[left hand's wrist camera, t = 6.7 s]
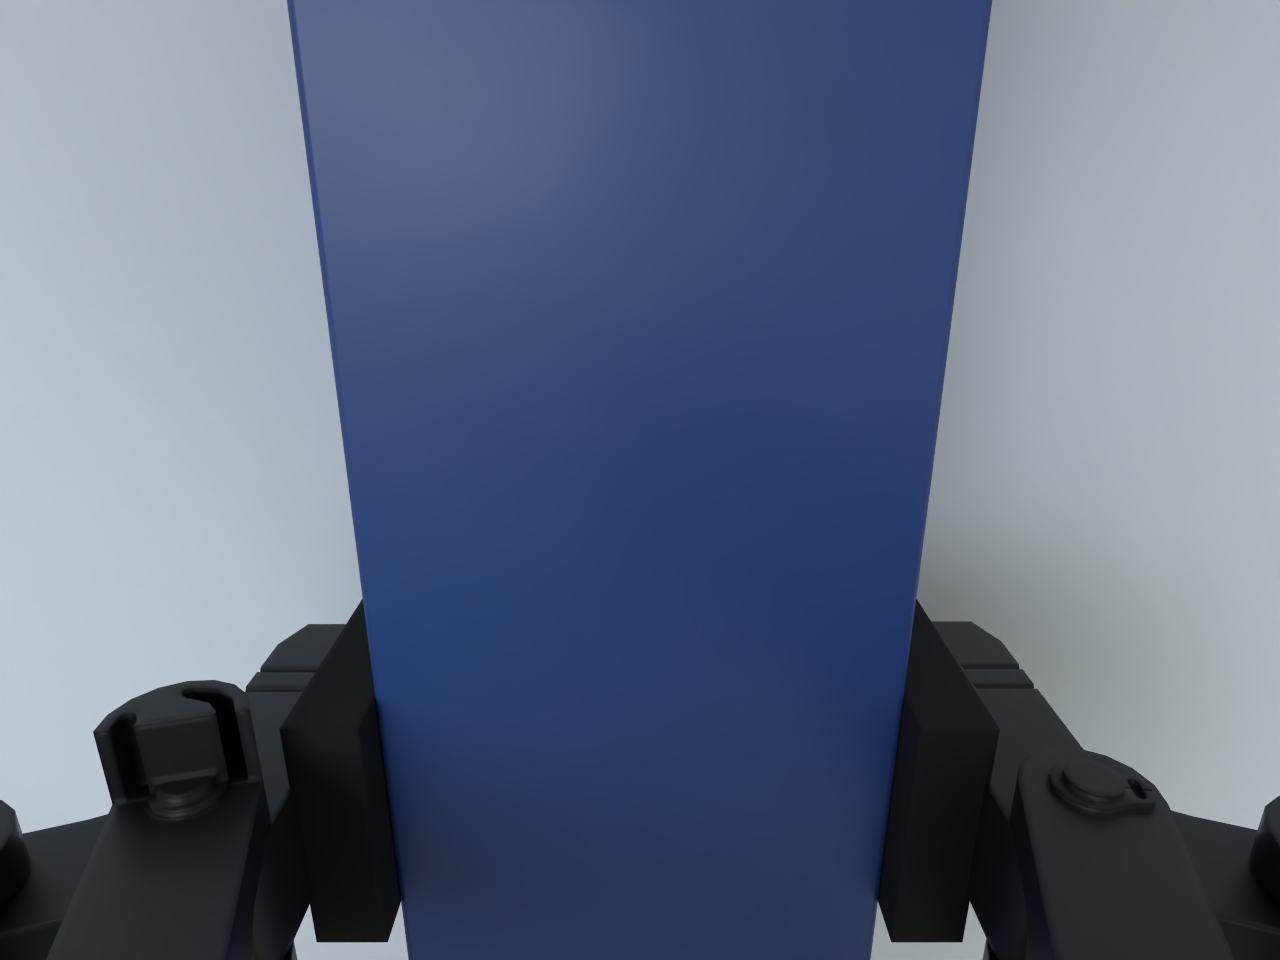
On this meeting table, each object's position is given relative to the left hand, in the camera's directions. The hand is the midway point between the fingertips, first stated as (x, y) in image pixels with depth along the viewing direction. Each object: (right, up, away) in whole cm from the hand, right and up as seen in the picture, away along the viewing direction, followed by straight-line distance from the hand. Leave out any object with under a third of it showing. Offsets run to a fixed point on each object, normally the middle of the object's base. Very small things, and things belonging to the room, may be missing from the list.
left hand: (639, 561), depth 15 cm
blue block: (0, +4, +1) cm, 4 cm away
